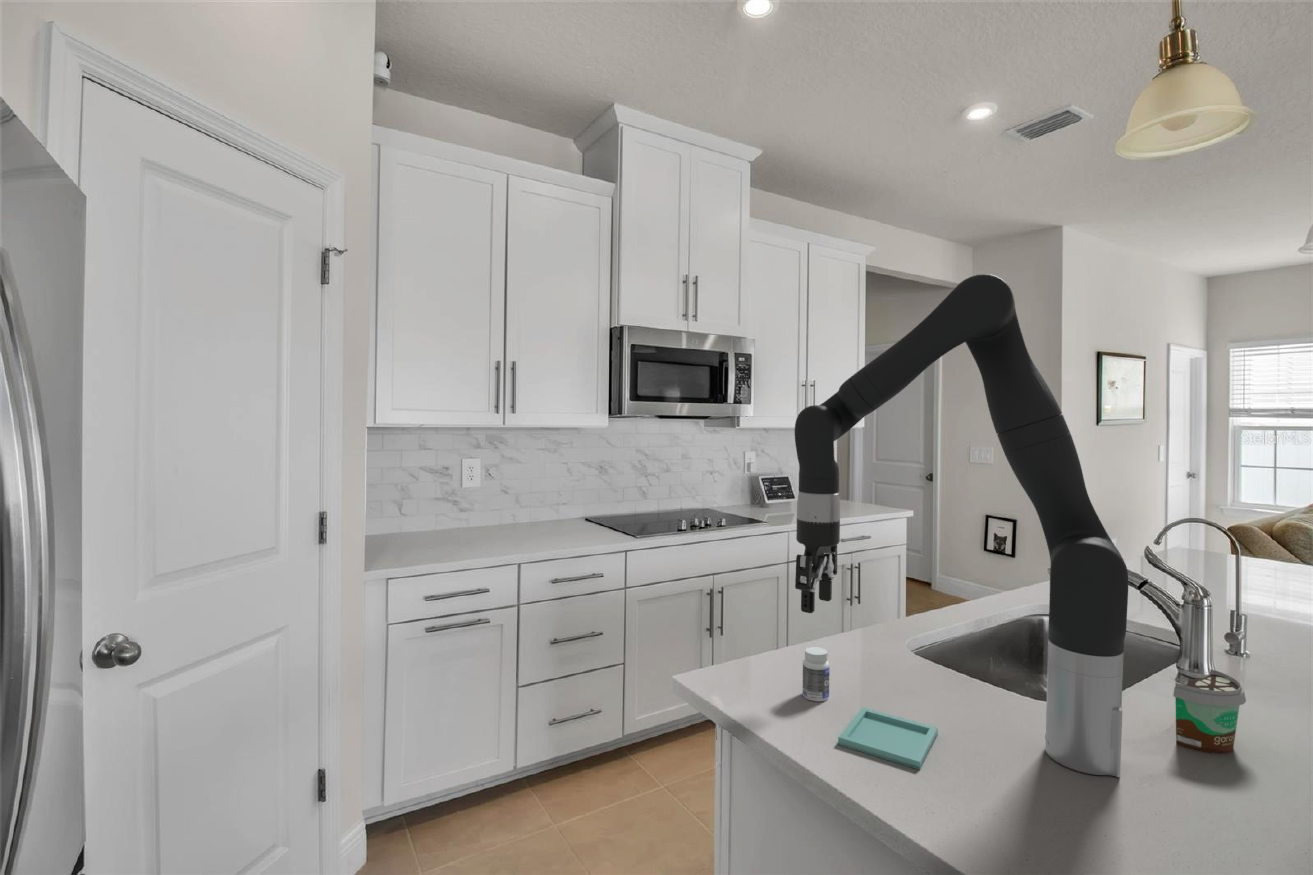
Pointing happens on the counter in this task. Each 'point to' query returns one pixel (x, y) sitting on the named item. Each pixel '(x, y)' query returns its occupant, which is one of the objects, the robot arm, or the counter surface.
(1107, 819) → the counter surface
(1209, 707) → the food container
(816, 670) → the pill bottle
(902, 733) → the tray
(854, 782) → the counter surface
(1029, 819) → the counter surface
